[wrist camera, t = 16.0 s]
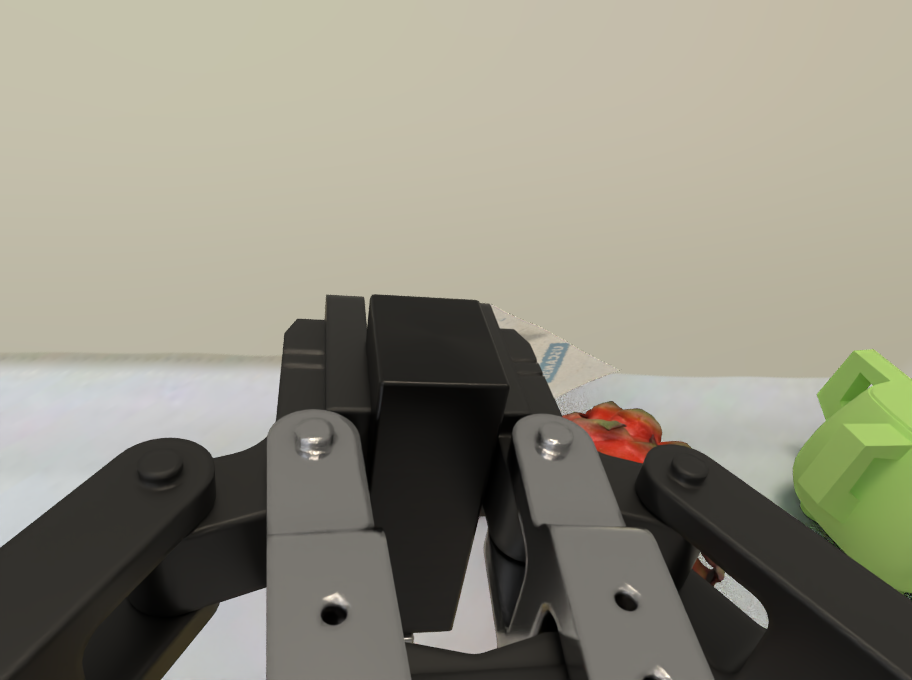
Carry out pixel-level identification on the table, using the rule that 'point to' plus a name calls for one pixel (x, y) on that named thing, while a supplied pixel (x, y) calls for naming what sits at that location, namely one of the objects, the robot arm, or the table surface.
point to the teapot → (863, 466)
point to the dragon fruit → (631, 447)
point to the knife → (430, 444)
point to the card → (556, 355)
